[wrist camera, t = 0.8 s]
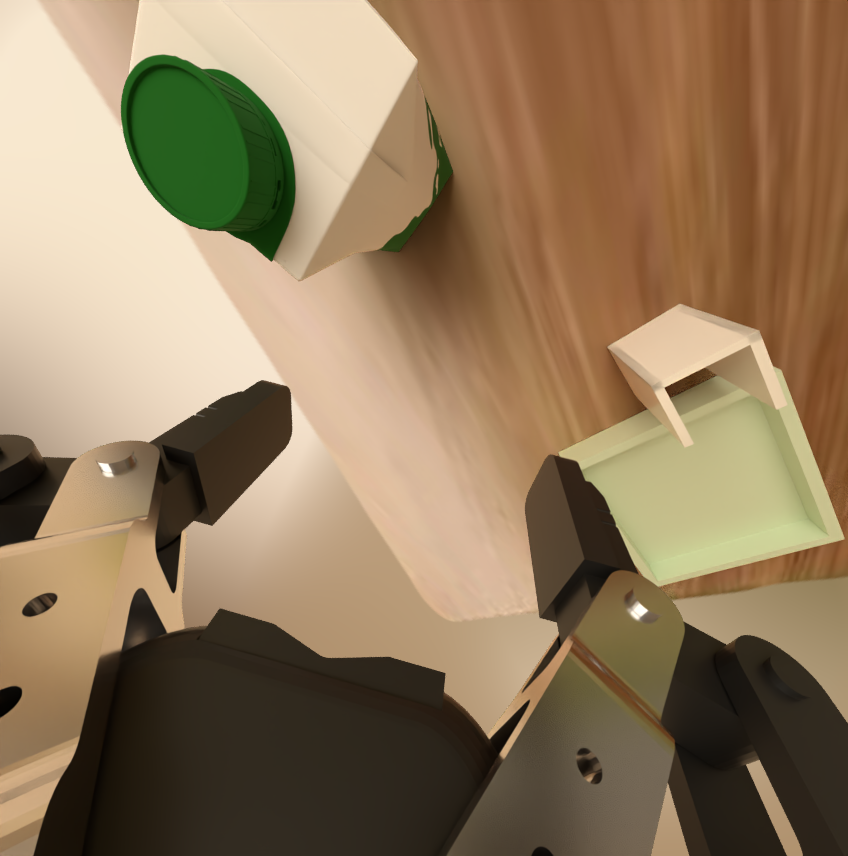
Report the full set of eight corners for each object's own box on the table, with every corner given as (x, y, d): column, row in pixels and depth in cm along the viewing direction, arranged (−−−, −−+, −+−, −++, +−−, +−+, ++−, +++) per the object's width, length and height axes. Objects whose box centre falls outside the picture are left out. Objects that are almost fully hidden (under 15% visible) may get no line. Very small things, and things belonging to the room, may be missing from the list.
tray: (753, 357, 28) (781, 369, 25) (818, 516, 34) (844, 539, 32) (558, 452, 35) (564, 468, 33) (642, 566, 42) (652, 588, 40)
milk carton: (319, 192, 27) (28, 114, 10) (380, 67, 22) (48, -482, 5) (400, 269, 29) (279, 315, 12) (472, 167, 24) (445, 3, 7)
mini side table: (606, 346, 29) (650, 385, 21) (679, 303, 26) (759, 330, 19) (635, 395, 31) (684, 447, 23) (705, 359, 28) (787, 405, 21)
